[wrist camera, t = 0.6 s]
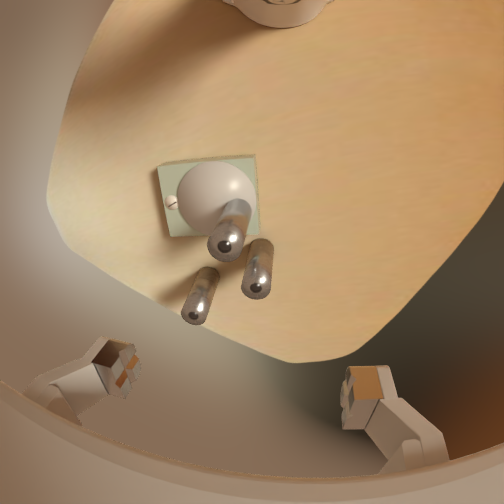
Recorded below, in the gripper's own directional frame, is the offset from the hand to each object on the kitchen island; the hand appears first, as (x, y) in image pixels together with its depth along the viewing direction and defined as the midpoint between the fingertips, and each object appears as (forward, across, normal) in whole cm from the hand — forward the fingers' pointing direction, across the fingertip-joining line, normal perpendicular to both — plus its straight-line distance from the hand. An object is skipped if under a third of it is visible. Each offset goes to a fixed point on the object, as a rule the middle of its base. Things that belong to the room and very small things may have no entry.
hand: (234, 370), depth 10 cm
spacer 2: (+37, +7, +4) cm, 38 cm away
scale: (+40, +12, +2) cm, 42 cm away
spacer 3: (+42, +4, +13) cm, 44 cm away
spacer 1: (+42, +15, +19) cm, 49 cm away
